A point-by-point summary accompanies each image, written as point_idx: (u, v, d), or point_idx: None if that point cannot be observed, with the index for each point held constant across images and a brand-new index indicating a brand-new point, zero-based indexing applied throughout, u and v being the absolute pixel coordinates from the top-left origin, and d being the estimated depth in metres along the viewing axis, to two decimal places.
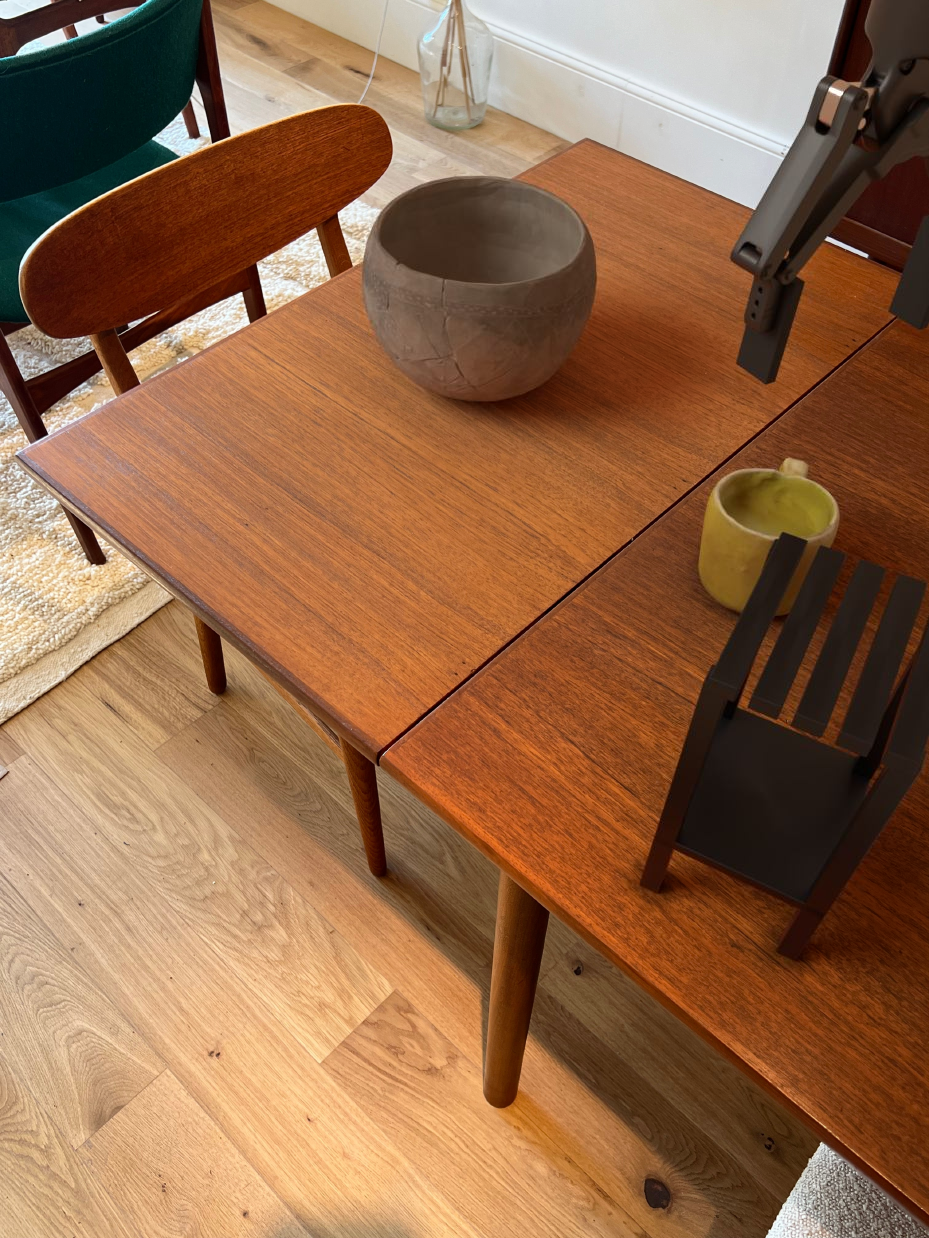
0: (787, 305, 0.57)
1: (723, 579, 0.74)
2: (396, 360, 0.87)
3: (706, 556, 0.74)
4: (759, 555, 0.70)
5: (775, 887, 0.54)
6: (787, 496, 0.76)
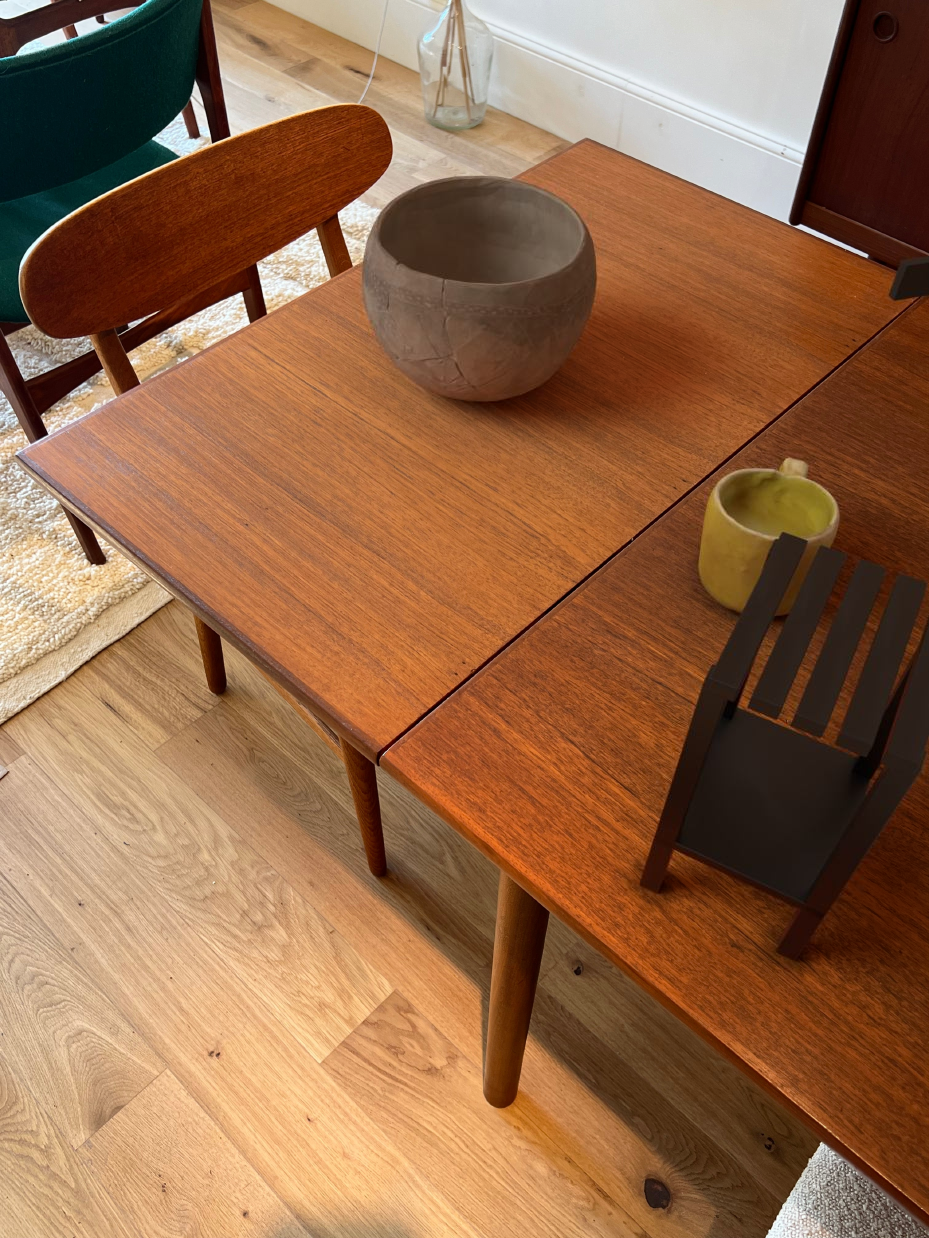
0: None
1: (723, 579, 0.74)
2: (396, 360, 0.87)
3: (706, 556, 0.74)
4: (759, 555, 0.70)
5: (775, 887, 0.54)
6: (787, 496, 0.76)
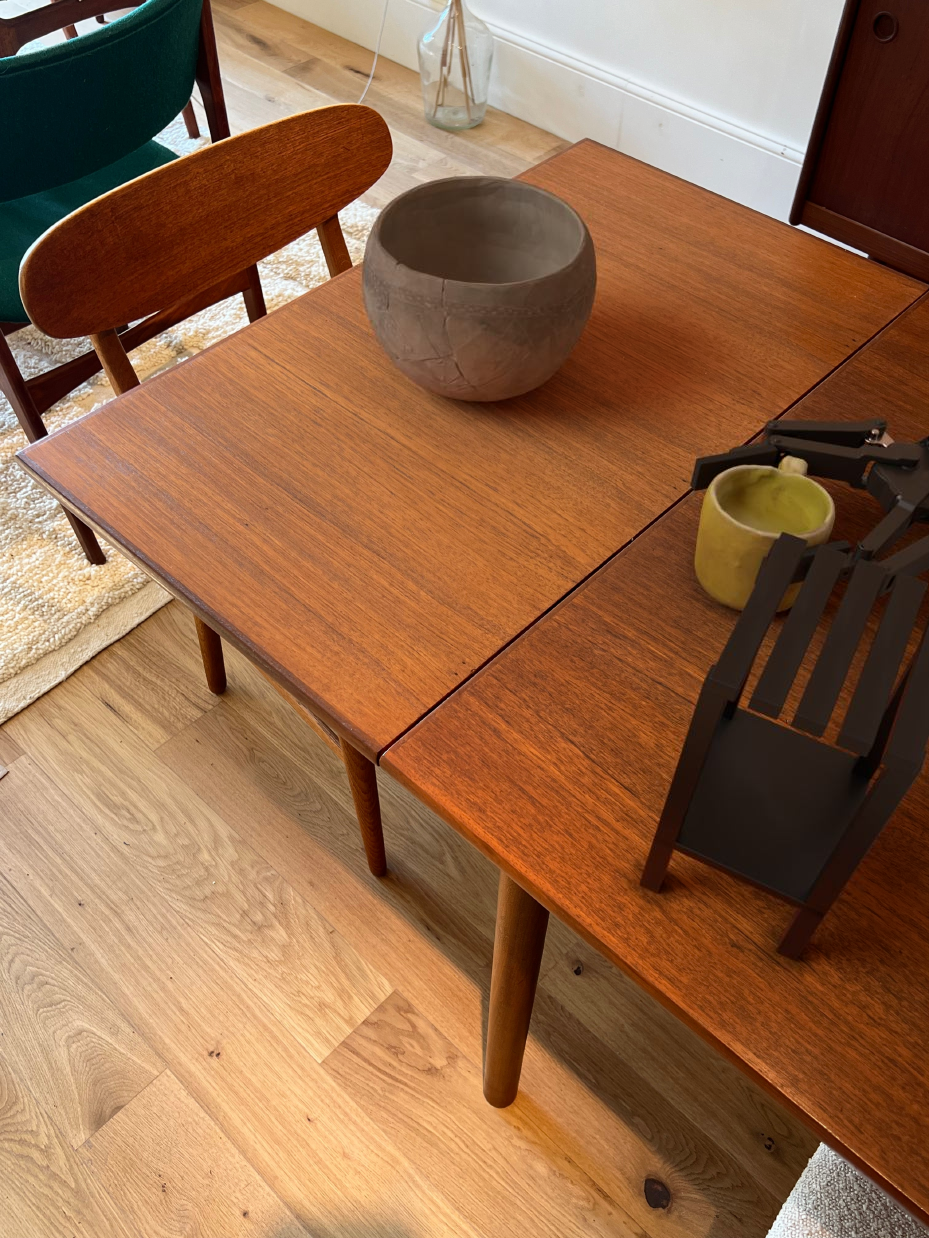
0: None
1: (718, 575, 0.74)
2: (396, 360, 0.87)
3: (702, 551, 0.75)
4: (752, 551, 0.70)
5: (775, 887, 0.54)
6: (785, 494, 0.76)
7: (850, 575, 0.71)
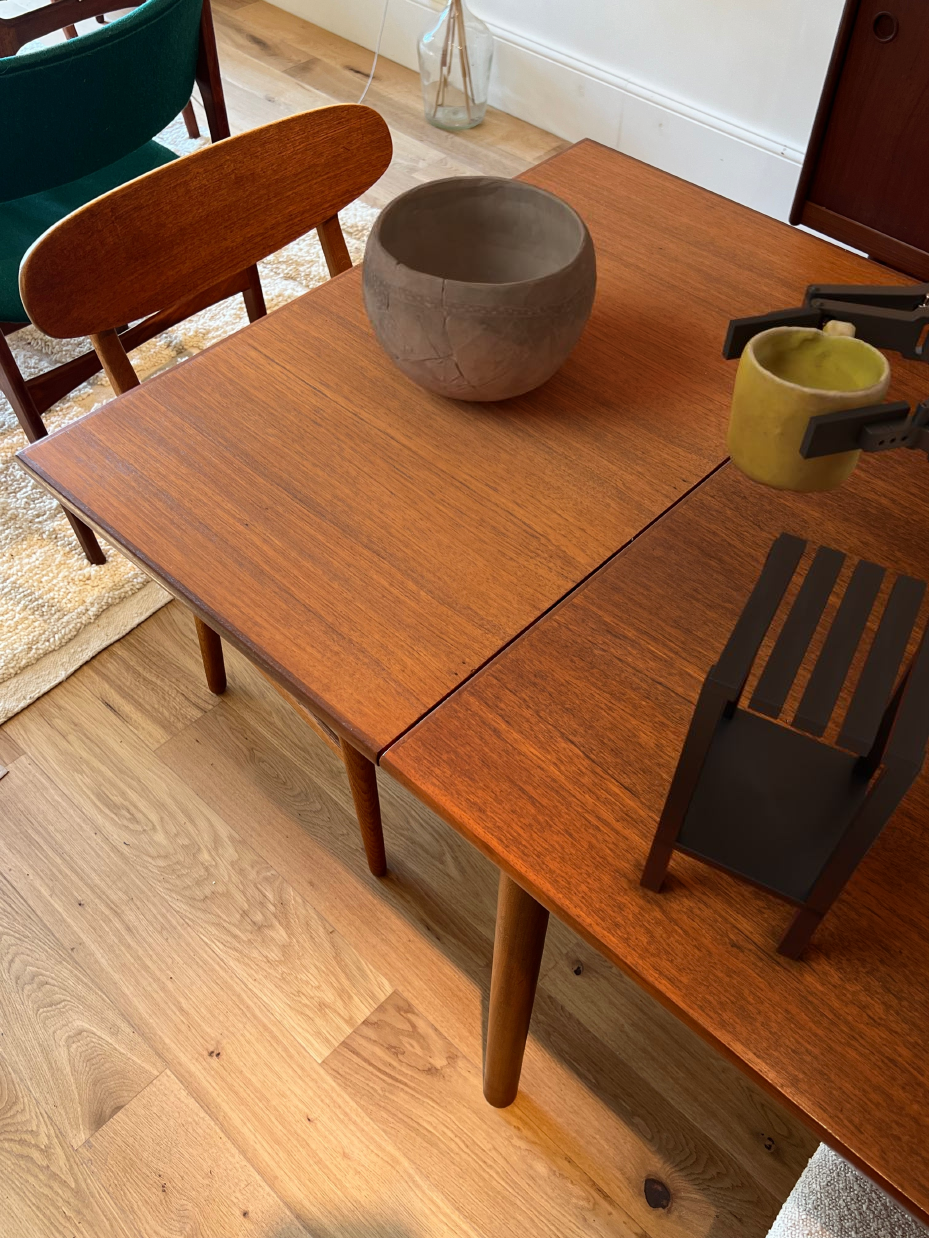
0: None
1: (755, 447, 0.65)
2: (396, 360, 0.87)
3: (736, 422, 0.66)
4: (797, 413, 0.61)
5: (775, 887, 0.54)
6: (830, 360, 0.67)
7: (909, 441, 0.61)
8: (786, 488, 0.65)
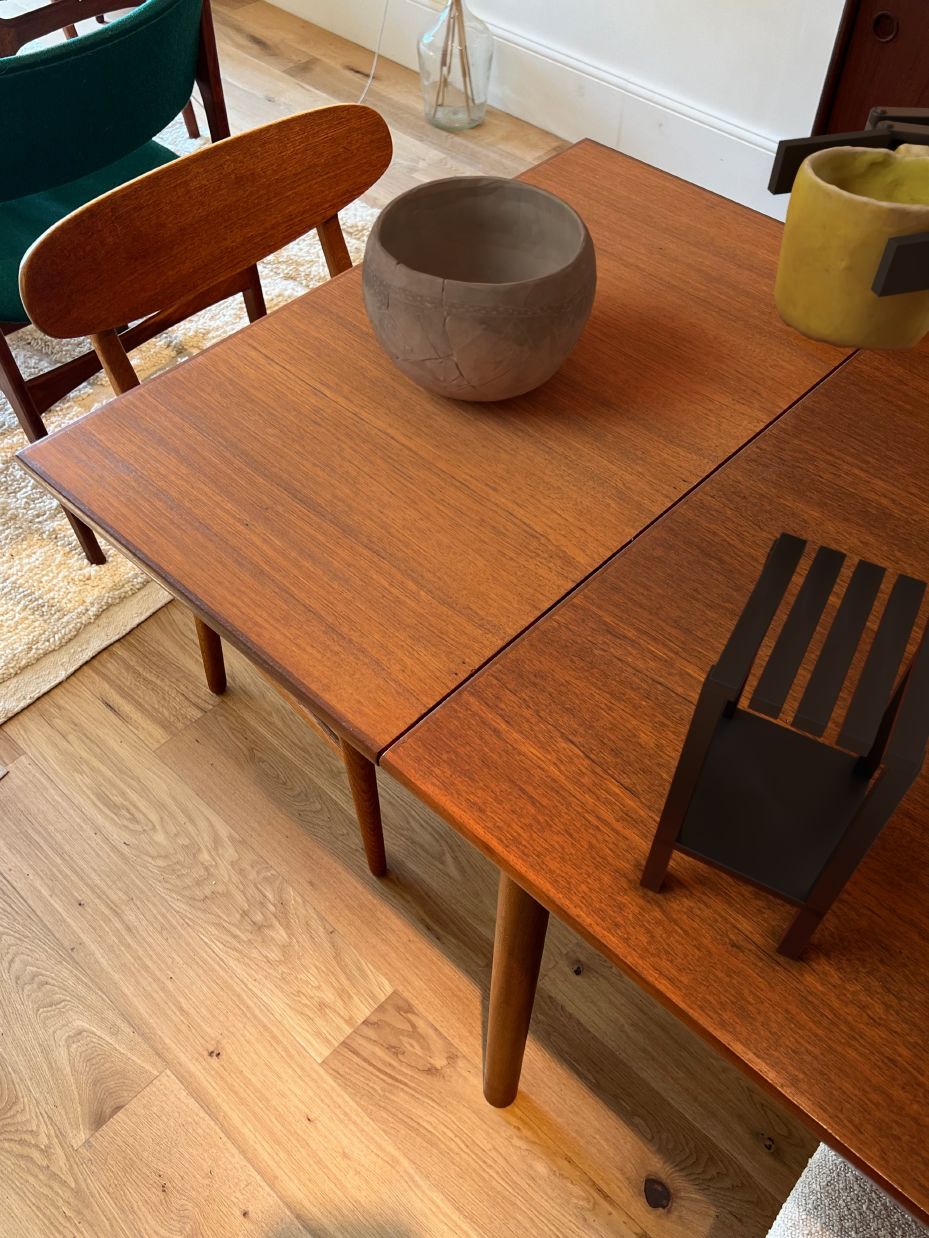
0: None
1: (813, 292, 0.52)
2: (396, 360, 0.87)
3: (789, 263, 0.53)
4: (870, 237, 0.49)
5: (775, 887, 0.54)
6: (904, 190, 0.54)
7: None
8: (851, 344, 0.53)
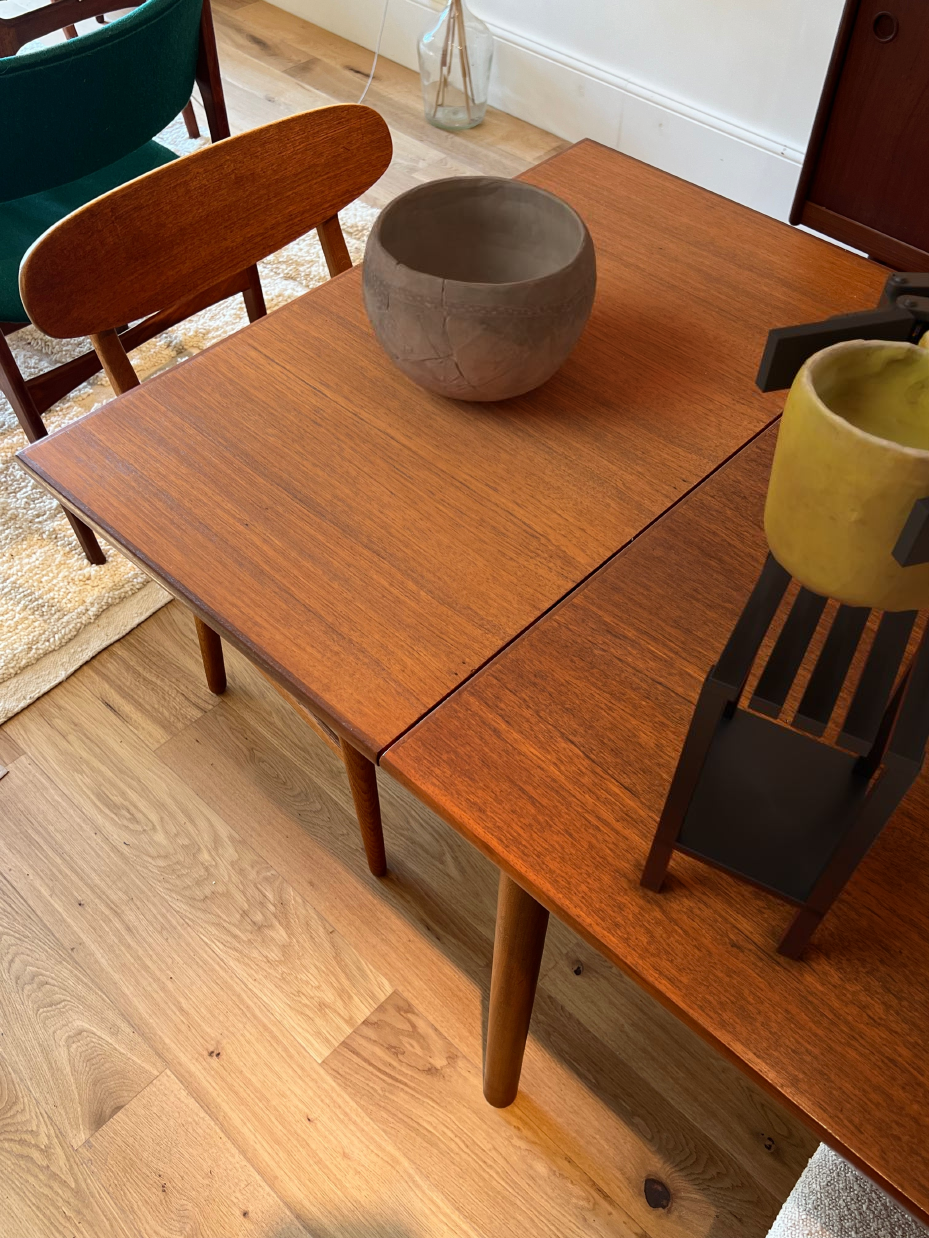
0: None
1: (814, 539, 0.39)
2: (396, 360, 0.87)
3: (782, 496, 0.40)
4: (891, 489, 0.36)
5: (775, 887, 0.54)
6: None
7: None
8: (864, 604, 0.40)
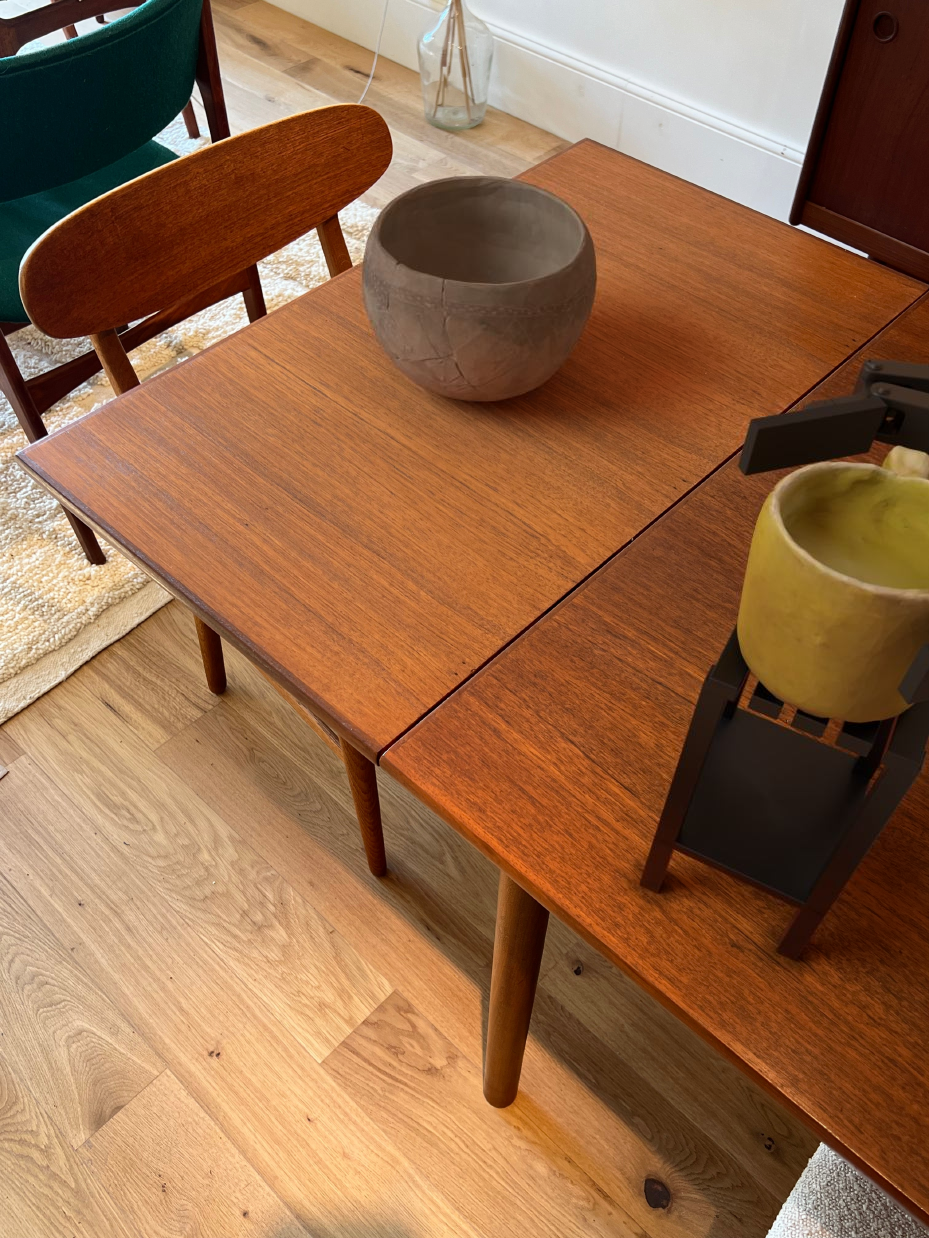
0: None
1: (782, 656, 0.42)
2: (396, 360, 0.87)
3: (753, 612, 0.43)
4: (851, 619, 0.38)
5: (775, 887, 0.54)
6: (896, 512, 0.44)
7: None
8: (829, 716, 0.42)
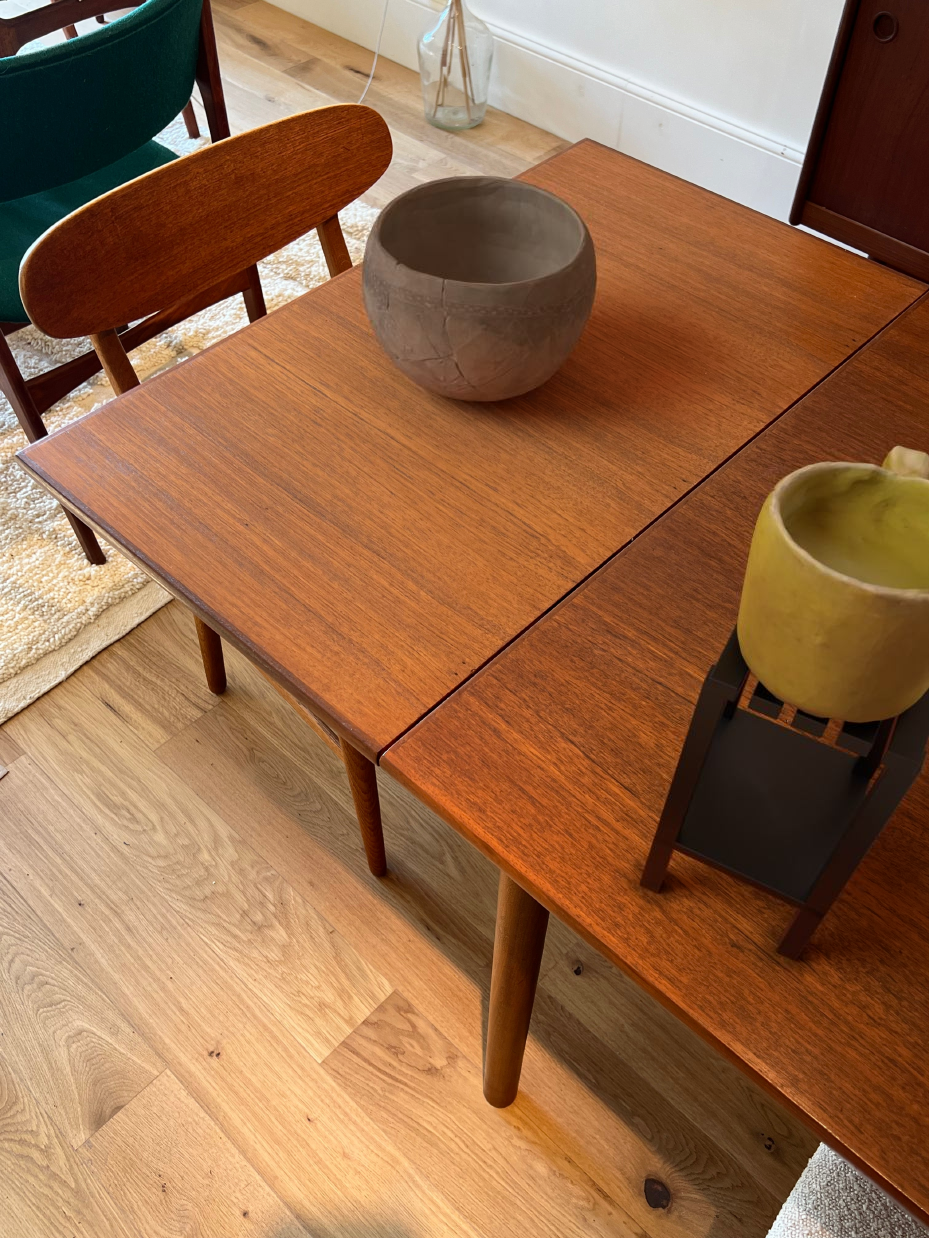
0: None
1: (782, 656, 0.42)
2: (396, 360, 0.87)
3: (753, 612, 0.43)
4: (851, 619, 0.38)
5: (775, 887, 0.54)
6: (896, 512, 0.44)
7: None
8: (829, 716, 0.42)
